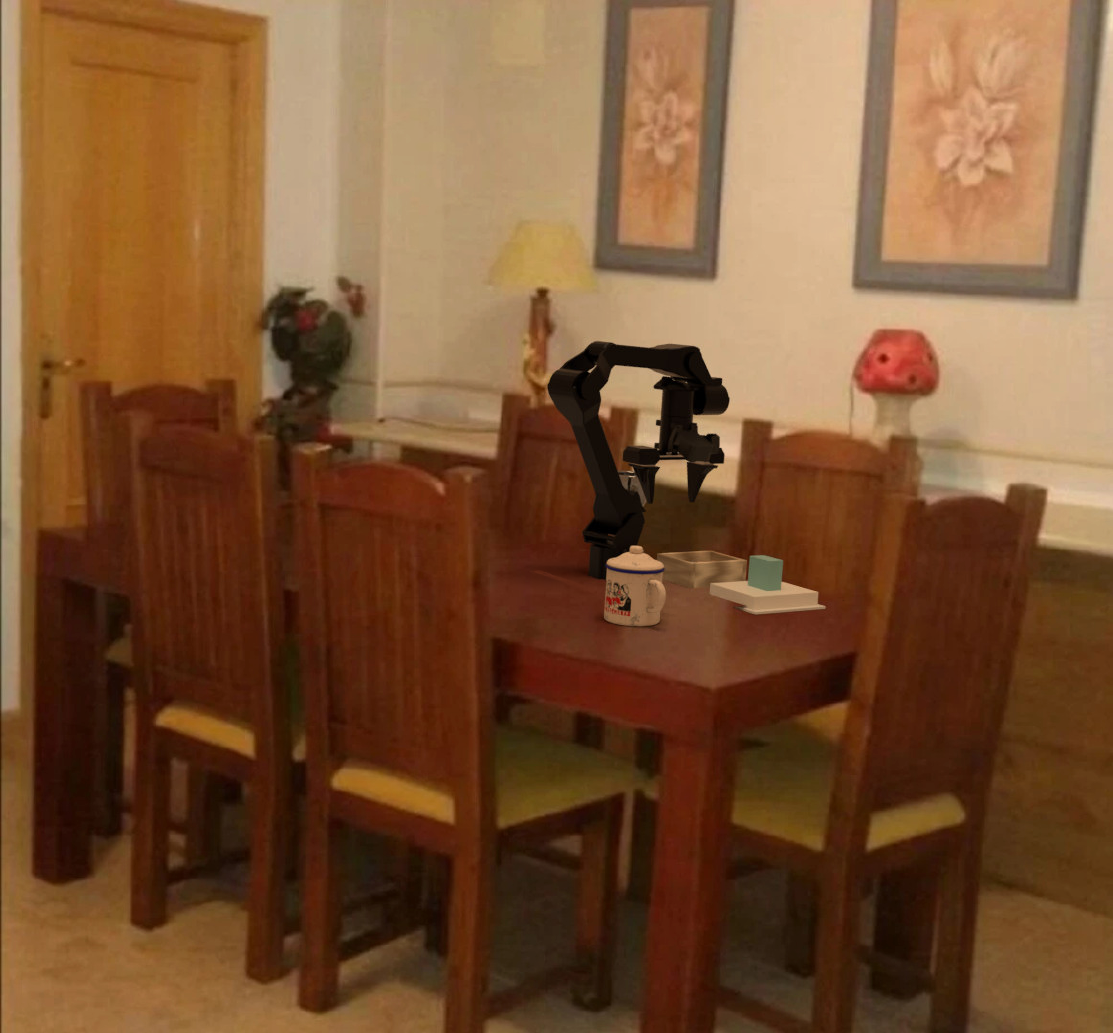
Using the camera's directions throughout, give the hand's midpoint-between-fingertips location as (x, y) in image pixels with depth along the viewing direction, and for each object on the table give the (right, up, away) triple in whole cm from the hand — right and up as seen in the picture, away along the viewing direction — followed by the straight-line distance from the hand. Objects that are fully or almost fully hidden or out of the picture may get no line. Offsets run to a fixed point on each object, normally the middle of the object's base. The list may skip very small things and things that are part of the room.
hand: (670, 503), depth 292 cm
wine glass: (-7, -9, +26) cm, 29 cm away
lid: (+14, -16, -19) cm, 29 cm away
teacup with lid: (-8, -19, -40) cm, 45 cm away
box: (+5, -14, -6) cm, 16 cm away
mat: (+14, -17, -19) cm, 29 cm away
